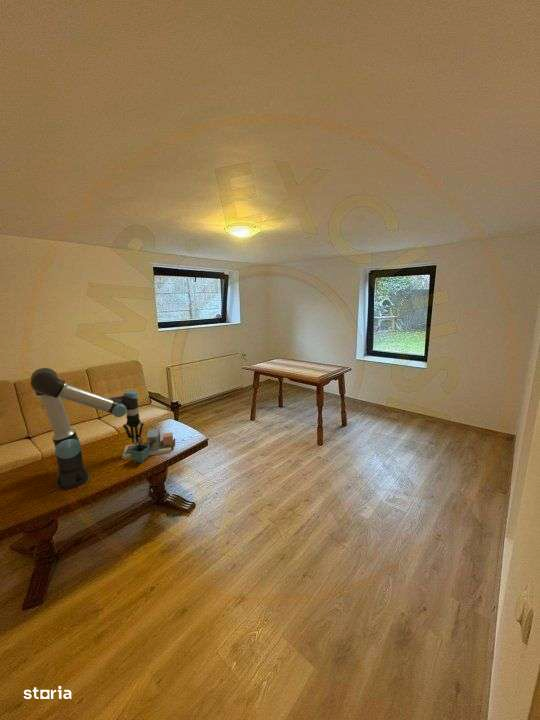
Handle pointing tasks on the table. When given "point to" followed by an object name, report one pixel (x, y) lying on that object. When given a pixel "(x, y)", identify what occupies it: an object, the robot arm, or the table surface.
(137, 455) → the flower pot
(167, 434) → the terracotta block
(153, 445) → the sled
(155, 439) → the tunnel
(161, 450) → the board
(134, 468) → the table surface
